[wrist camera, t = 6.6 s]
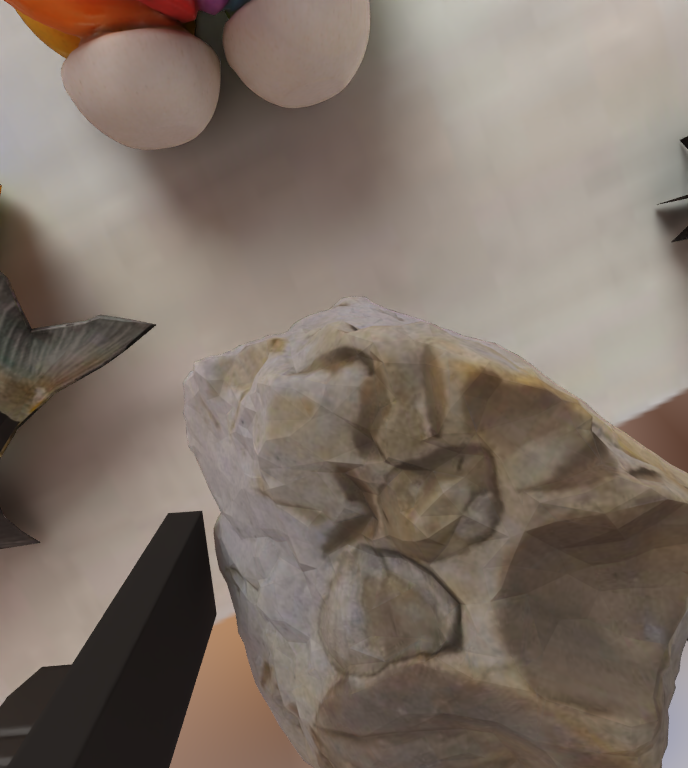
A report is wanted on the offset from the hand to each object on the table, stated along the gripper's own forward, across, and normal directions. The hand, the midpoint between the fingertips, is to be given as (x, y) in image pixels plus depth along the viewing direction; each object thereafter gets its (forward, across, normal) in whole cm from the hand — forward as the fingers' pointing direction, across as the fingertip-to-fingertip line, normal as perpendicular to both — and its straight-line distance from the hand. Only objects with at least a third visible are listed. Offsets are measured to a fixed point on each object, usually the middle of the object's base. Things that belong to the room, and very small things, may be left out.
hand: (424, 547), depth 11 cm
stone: (-2, +5, +3) cm, 6 cm away
